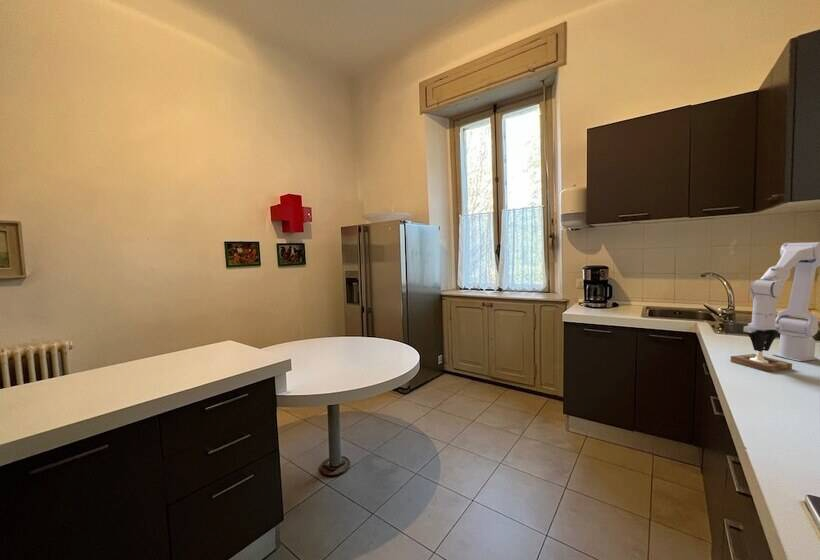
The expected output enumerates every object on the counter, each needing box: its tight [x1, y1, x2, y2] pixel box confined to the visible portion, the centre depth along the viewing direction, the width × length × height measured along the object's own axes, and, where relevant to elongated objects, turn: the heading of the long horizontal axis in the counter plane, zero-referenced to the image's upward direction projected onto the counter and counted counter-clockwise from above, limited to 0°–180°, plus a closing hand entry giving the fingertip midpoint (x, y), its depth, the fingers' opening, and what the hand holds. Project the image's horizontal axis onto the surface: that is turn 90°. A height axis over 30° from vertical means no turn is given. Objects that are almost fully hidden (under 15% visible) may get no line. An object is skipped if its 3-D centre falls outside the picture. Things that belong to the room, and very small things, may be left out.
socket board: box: [730, 353, 793, 373], centre depth 117 cm, size 11×11×2 cm
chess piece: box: [750, 341, 769, 364], centre depth 117 cm, size 5×5×10 cm
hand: (761, 350), depth 117 cm, fingers closed on chess piece, 2 cm apart
